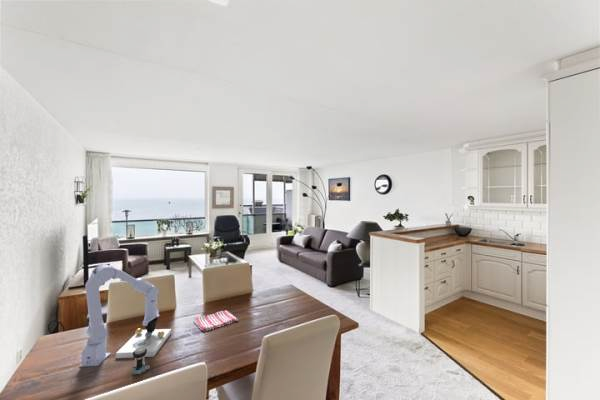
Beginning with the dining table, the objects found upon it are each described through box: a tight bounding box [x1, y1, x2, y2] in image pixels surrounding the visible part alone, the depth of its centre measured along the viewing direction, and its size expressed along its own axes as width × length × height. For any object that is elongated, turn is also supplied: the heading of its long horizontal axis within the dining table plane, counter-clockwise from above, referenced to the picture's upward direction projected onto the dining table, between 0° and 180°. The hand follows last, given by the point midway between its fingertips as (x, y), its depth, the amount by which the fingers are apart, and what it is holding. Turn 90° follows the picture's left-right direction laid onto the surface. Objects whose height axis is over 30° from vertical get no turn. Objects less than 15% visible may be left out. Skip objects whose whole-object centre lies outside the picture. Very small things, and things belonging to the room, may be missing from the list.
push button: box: [132, 347, 150, 376], centre depth 111 cm, size 7×5×10 cm
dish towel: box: [193, 310, 239, 332], centre depth 160 cm, size 17×23×4 cm
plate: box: [115, 328, 172, 359], centre depth 132 cm, size 22×17×2 cm
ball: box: [145, 331, 152, 338], centre depth 134 cm, size 3×3×3 cm
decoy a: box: [134, 327, 143, 335], centre depth 137 cm, size 3×3×3 cm
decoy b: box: [157, 331, 164, 338], centre depth 135 cm, size 3×3×3 cm
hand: (151, 332), depth 137 cm, fingers closed
